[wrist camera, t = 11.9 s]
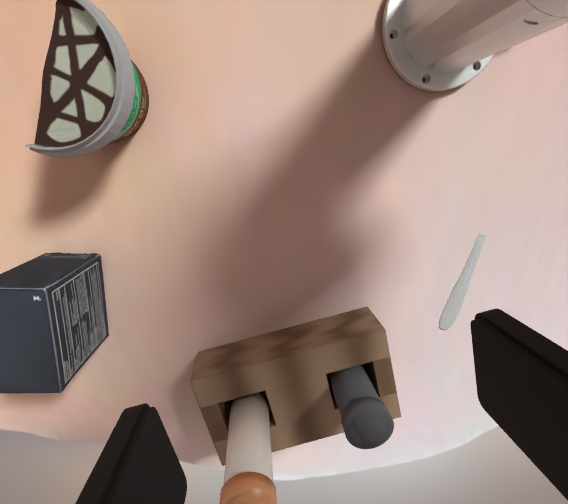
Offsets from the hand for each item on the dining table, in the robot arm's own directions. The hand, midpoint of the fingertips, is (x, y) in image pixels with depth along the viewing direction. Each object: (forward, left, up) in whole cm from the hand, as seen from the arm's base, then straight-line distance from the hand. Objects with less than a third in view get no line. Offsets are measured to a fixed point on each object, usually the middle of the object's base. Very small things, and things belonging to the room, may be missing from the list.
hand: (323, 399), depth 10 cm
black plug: (-4, +20, -30) cm, 36 cm away
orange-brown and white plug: (+8, +20, -25) cm, 33 cm away
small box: (+24, +3, -31) cm, 39 cm away
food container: (+11, -15, -31) cm, 36 cm away
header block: (+2, +20, -30) cm, 36 cm away
